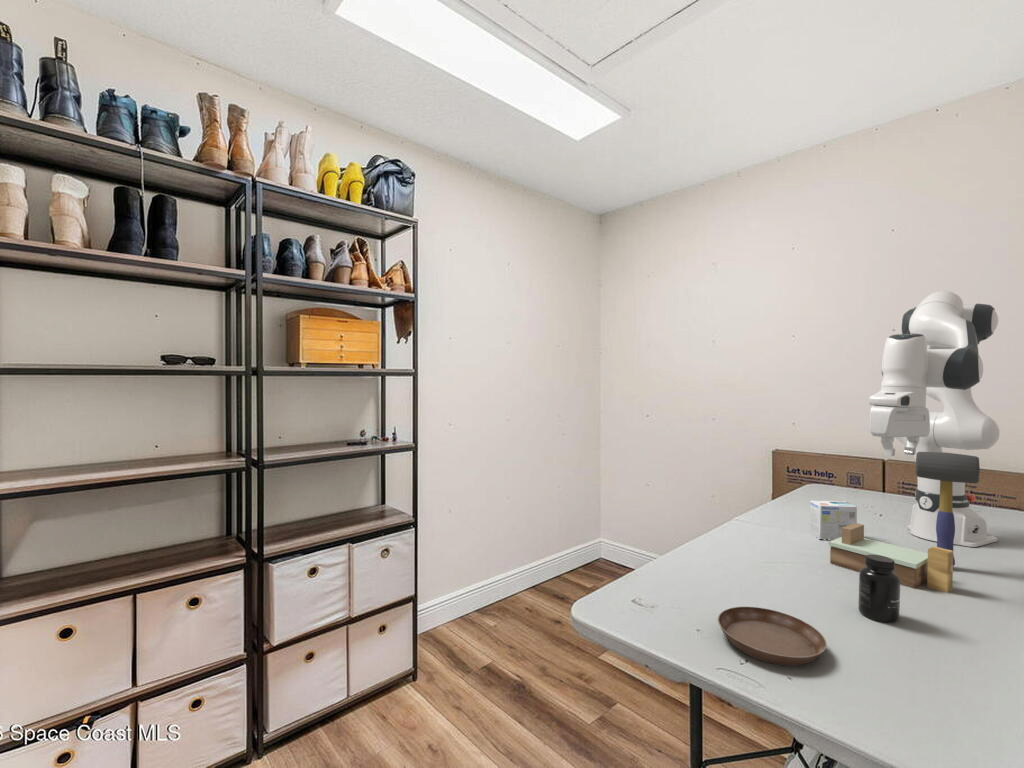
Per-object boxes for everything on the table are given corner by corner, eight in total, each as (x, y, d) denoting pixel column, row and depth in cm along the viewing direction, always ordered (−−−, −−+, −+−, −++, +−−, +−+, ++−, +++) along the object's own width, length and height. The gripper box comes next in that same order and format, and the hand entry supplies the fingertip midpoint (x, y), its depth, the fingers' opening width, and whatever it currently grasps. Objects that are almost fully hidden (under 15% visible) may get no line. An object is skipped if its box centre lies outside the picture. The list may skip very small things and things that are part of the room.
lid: (848, 537, 135) (849, 519, 135) (933, 558, 120) (934, 538, 120) (828, 545, 129) (829, 526, 129) (915, 568, 113) (916, 547, 113)
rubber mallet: (977, 569, 125) (979, 453, 125) (978, 578, 120) (980, 457, 120) (914, 557, 134) (916, 448, 133) (912, 565, 128) (914, 451, 128)
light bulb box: (844, 534, 153) (845, 500, 153) (857, 542, 147) (858, 506, 146) (808, 533, 154) (809, 499, 154) (820, 540, 148) (820, 505, 147)
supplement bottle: (902, 627, 96) (903, 567, 96) (859, 618, 100) (860, 559, 99) (897, 613, 102) (898, 556, 102) (857, 605, 105) (858, 549, 105)
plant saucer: (834, 643, 91) (834, 626, 91) (815, 687, 77) (815, 668, 77) (734, 612, 102) (735, 597, 102) (703, 646, 89) (703, 629, 89)
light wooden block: (932, 583, 117) (933, 546, 117) (952, 589, 114) (953, 550, 114) (927, 587, 115) (927, 549, 115) (947, 592, 112) (947, 553, 112)
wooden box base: (849, 555, 135) (849, 539, 135) (931, 578, 120) (931, 559, 120) (830, 563, 129) (830, 546, 129) (914, 588, 114) (914, 569, 114)
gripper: (909, 399, 127) (907, 452, 127) (865, 397, 118) (862, 454, 118) (939, 400, 122) (936, 456, 122) (895, 398, 112) (891, 458, 112)
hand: (899, 455), depth 120 cm, fingers open, 8 cm apart
